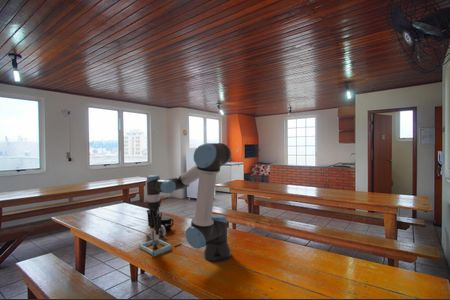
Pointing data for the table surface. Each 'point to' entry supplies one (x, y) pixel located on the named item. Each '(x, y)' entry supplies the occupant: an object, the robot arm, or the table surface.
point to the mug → (167, 222)
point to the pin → (155, 242)
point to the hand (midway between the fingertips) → (155, 238)
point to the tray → (158, 251)
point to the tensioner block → (161, 234)
